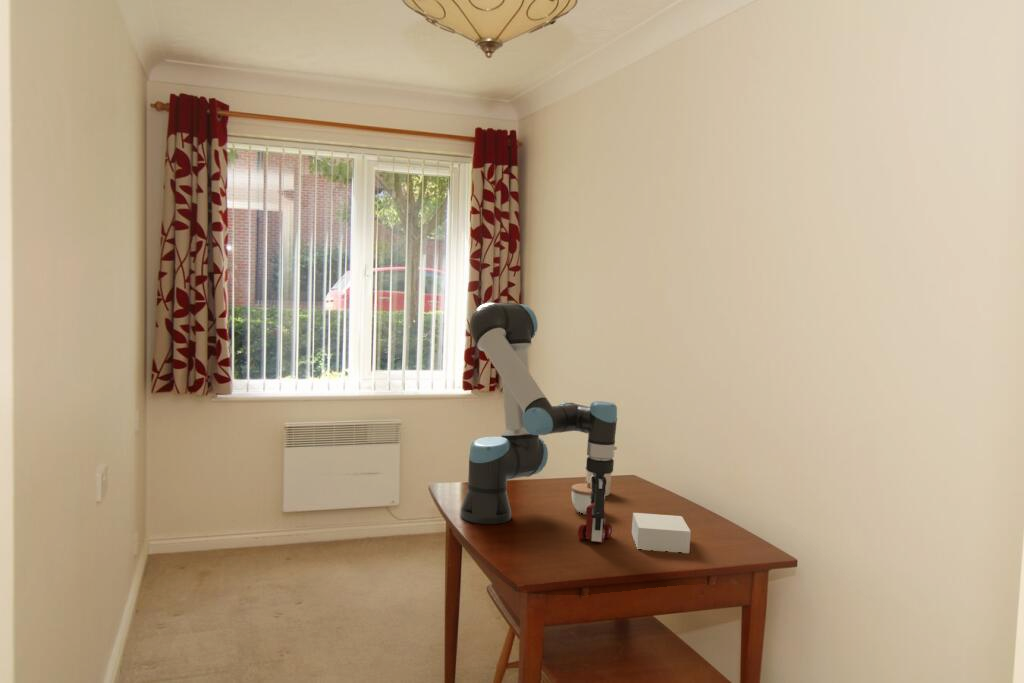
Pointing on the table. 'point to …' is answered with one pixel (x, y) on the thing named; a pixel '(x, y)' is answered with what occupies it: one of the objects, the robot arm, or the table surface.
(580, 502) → the lidded jar
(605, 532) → the toy fire truck
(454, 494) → the table surface
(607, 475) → the teacup with lid
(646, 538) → the cream white block
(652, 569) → the table surface
